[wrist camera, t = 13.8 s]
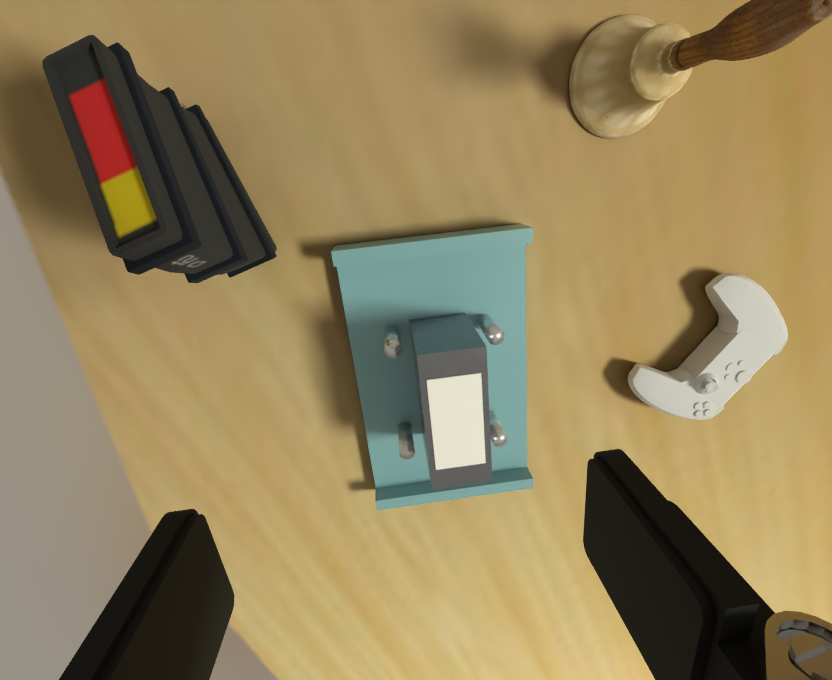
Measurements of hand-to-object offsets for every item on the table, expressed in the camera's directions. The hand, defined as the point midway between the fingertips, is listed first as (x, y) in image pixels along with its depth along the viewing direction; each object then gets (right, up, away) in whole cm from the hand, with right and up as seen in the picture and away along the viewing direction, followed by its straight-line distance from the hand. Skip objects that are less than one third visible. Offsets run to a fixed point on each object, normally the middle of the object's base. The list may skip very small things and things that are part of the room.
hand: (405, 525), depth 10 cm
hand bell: (+16, +25, +23) cm, 37 cm away
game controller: (+28, +4, +32) cm, 43 cm away
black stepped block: (-15, +17, +23) cm, 32 cm away
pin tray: (+3, +1, +30) cm, 30 cm away
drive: (+3, +1, +29) cm, 29 cm away
